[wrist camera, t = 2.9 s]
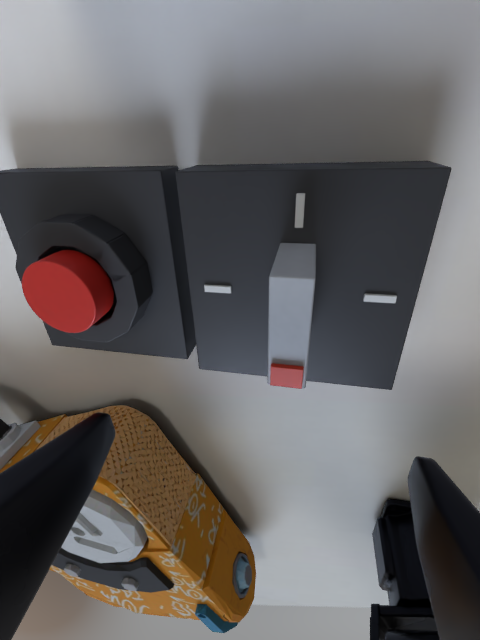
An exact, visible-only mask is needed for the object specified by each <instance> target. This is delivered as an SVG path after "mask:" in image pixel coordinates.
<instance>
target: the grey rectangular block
mask: <svg viewBox="0 0 480 640" xmlns="http://www.w3.org/2000/svg"><path fill="white" fill-rule="evenodd" d="M315 274H316V244H302V243H280V246H279V249H278V252H277V255H276V258H275V261H274V264H273V267H272V270H271V273H270V276H269V318H268V384H270V385H273V386H282V387H291V388H299V389H302V388H305V387H306V377H307V366H308V355H309V344H310V333H311V322H312V311H313V300H314V289H315Z"/></svg>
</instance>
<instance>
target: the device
mask: <svg viewBox="0 0 480 640" xmlns="http://www.w3.org/2000/svg"><path fill="white" fill-rule="evenodd" d="M97 412H101V413H107V414H109V415H110V417H111V419H112V422H113V425H114V428H115V438H114V441H113V443H112V446H111V448H110V450H109V453H108V455H107V458H106V460H105V462H104V465H103V467H102V469H101V472H100V474H99V476H98V479H97V481H96V483H95V485H94V487H93V489H92V491H91V493H90V495H89V497H88V499H87V500H86V502H85V504H84V506H83V508H82V510H81V511H80V513H79V515H78V517H77V519H76V521H75V523H74V524H73V526H72V528H71V530H70V532H69V534H68V536H67V537H66V539H65V541H64V543H63V545H62V547H61V549H60V550H59V552H58V554H57V556H56V558H55V560H54V562H53V563H52V565H51V567H50V569H49V570H52V571H54V572H57V573H59V574H61V575H62V576H63V577H64V578H66V579H67V580H68V581H69V582H71V583H72V584H73V585H74V586H76V587H77V588H78V589H79V590H81V591H83V592H84V593H85V594H86V595H88V596H90V597H93V598H96V599H98V600H100V601H103V602H105V603H108V604H110V605H113V606H116V607H125V608H127V609H129V610H131V611H133V612H135V613H141V614H150V615H159V616H168V617H177V618H185V619H194V620H201V621H202V622H203V623H204V624H205V625H206V626H207V627H208V628H209V629H210V630H211V631H213V632H219V633H225V632H227V631H229V630H230V629H232V628H234V627H235V626H237V624H238V622H240V621H241V620H242V619H243V618H244V616H245V615H246V614H247V613H248V611H249V609H250V606H251V604H252V602H253V599H254V591H255V577H256V569H255V560H254V555H253V552H252V549H251V546H250V544H249V542H248V541H247V539H246V538H245V536H244V535H243V534H242V532H241V531H240V530H239V528H238V527H237V526H236V525H235V523H234V522H233V521H232V519H231V518H230V516H229V515H228V514H227V512H226V511H225V509H224V508H223V507H222V505H221V504H220V502H219V501H218V500H217V498H216V497H215V496H214V494H213V493H212V491H211V490H210V489H209V487H208V486H207V485H206V483H205V482H204V481H203V479H202V478H201V476H200V475H199V474H198V473H197V474H195V473H194V471H193V470H192V469H191V468H190V466H189V465H188V464H187V463H186V462H185V460H184V459H183V458H182V457H181V455H180V454H179V453H178V452H177V450H176V449H175V448H174V447H173V445H172V444H171V443H170V442H169V440H168V439H167V438H166V437H165V435H164V434H163V432H162V431H161V430H160V428H159V427H158V426H157V424H156V423H155V422H154V421H153V420H152V419H151V418H150V417H149V416H148V415H146V414H144V413H142V412H140V411H138V410H137V409H134V408H131V407H129V406H126V405H117V406H109V407H105V408H101V409H98V410H94V411H91V412H87V413H82V414H78V415H73V416H69V417H68V416H67V415H66V414H64V415H60V416H57V417H53V418H50V419H46V420H42V421H39V422H37V421H32V422H29V423H25V424H21V425H17V424H16V423H13V424H10V425H7V424H6V423H5V422H3V421H2V420H1V419H0V473H1V472H3V471H4V470H6V469H8V468H9V467H11V466H12V465H14V464H15V463H17V462H19V461H20V460H22V459H23V458H25V457H26V456H28V455H30V454H31V453H33V452H34V451H36V450H37V449H39V448H41V447H42V446H44V445H45V444H47V443H48V442H50V441H52V440H53V439H55V438H56V437H58V436H59V435H61V434H63V433H64V432H66V431H67V430H69V429H70V428H72V427H74V426H75V425H77V424H78V423H80V422H81V421H83V420H85V419H86V418H88V417H89V416H91V415H92V414H94V413H97Z"/></svg>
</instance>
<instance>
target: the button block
mask: <svg viewBox="0 0 480 640" xmlns="http://www.w3.org/2000/svg"><path fill="white" fill-rule="evenodd" d="M176 171H178V167H177V166H135V167H81V168H27V169H10V170H2V171H0V213H1V216H2V218H3V221H4V224H5V226H6V229H7V231H8V234H9V236H10V239H11V241H12V244H13V246H14V249H15V251H16V254H17V260H16V271H17V274H18V276H19V278H20V281H21V283H22V277H23V274H24V272H25V270H26V269H27V267H28V266H29V265H31V264H32V263H34V262H36V261H38V260H40V259H43V258H45V257H47V256H49V255H51V254H53V253H56V252H58V251H61V250H74V251H78V252H81V253H84V254H86V255H88V256H89V257H91V258H92V259H94V260H95V261H96V262H97V263H98V264H99V265H100V266H101V267H102V268H103V269H104V270H105V272H106V273H107V275H108V277H109V278H110V281H111V283H112V286H113V291H114V300H113V304H112V307H111V308H110V310H109V311H108V312H107V313H106V314H105V315H104V316H103V317H101V318H100V319H99V320H98V321H97V322H96V323H95V324H93V325H92V326H91V327H90V328H89V329H87V330H85V331H83V332H79V333H68V332H64V331H60V330H58V329H56V328H54V327H52V326H50V325H48V324H47V323H46V322H44V321H43V323H44V325H45V328H46V330H47V333H48V335H49V338H50V340H51V343H52V345H56V346H66V347H76V348H85V349H95V350H104V351H114V352H124V353H133V354H143V355H152V356H162V357H172V358H181V359H188V358H189V356H190V354H191V352H192V351H193V349H194V347H195V345H196V337H195V329H194V321H193V313H192V304H191V296H190V288H189V280H188V272H187V263H186V255H185V247H184V239H183V230H182V222H181V214H180V206H179V198H178V189H177V181H176Z"/></svg>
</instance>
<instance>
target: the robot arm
mask: <svg viewBox="0 0 480 640" xmlns="http://www.w3.org/2000/svg"><path fill="white" fill-rule="evenodd" d="M114 438H115V428H114V425H113V422H112V419H111V417H110V415H109V414H107V413H101V412H97V413H94V414H92V415H91V416H89V417H88V418H86V419H85V420H83V421H81V422H80V423H78V424H77V425H75V426H74V427H72V428H70V429H69V430H67V431H66V432H64V433H63V434H61V435H59V436H58V437H56V438H55V439H53V440H52V441H50V442H48V443H47V444H45V445H44V446H42V447H41V448H39V449H37V450H36V451H34V452H33V453H31V454H30V455H28V456H26V457H25V458H23V459H22V460H20V461H19V462H17V463H15V464H14V465H12V466H11V467H9V468H8V469H6V470H4V471H3V472H1V473H0V640H11V639H12V637H13V635H14V634H15V632H16V630H17V628H18V626H19V625H20V623H21V621H22V619H23V617H24V615H25V613H26V612H27V610H28V608H29V606H30V604H31V602H32V600H33V599H34V597H35V595H36V593H37V591H38V589H39V587H40V586H41V584H42V582H43V580H44V578H45V576H46V574H47V573H48V571H49V569H50V567H51V565H52V563H53V562H54V560H55V558H56V556H57V554H58V552H59V550H60V549H61V547H62V545H63V543H64V541H65V539H66V537H67V536H68V534H69V532H70V530H71V528H72V526H73V524H74V523H75V521H76V519H77V517H78V515H79V513H80V511H81V510H82V508H83V506H84V504H85V502H86V500H87V499H88V497H89V495H90V493H91V491H92V489H93V487H94V485H95V483H96V481H97V479H98V476H99V474H100V472H101V469H102V467H103V465H104V462H105V460H106V458H107V455H108V453H109V450H110V448H111V446H112V443H113V441H114ZM408 487H409V495H410V502H405V501H400V500H394V499H390V500H387V501H386V503H385V506H384V509H383V512H382V515H381V517H379V518H378V519H377V521H376V524H375V527H374V530H373V534H372V535H373V542H374V550H375V557H376V565H377V572H378V580H379V586H380V587H381V588H382V590H386V591H388V598H389V605H390V606H389V605H379V604H371V617H370V640H480V513H479V511H478V510H477V509H476V508H475V507H474V506H473V504H472V503H471V502H470V501H469V500H468V499H467V497H466V496H465V495H464V494H463V493H462V492H461V490H460V489H459V488H458V487H457V486H456V485H455V483H454V482H453V481H452V480H451V479H450V478H449V477H448V475H447V474H446V473H445V472H444V471H443V470H442V468H441V467H440V466H439V465H438V464H437V463H436V461H434V460H433V459H431V458H426V457H415V459H414V461H413V464H412V466H411V469H410V472H409V475H408Z"/></svg>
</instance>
